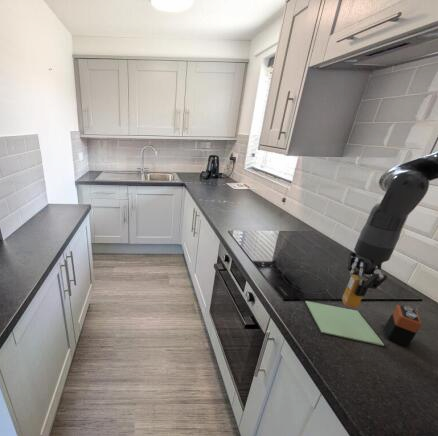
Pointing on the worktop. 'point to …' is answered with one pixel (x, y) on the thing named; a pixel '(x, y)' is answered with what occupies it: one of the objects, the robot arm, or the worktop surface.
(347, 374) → the worktop surface
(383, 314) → the worktop surface
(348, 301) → the supplement box
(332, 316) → the sticky note pad
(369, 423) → the worktop surface
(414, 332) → the battery
